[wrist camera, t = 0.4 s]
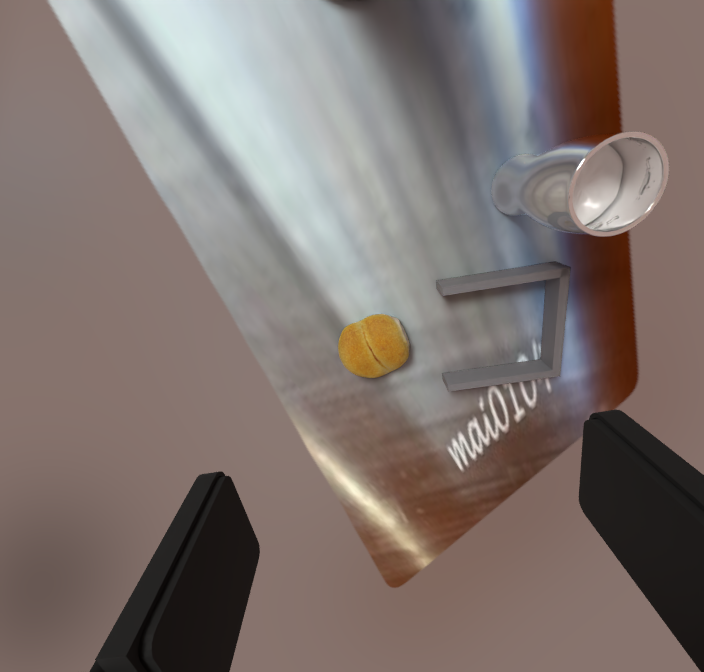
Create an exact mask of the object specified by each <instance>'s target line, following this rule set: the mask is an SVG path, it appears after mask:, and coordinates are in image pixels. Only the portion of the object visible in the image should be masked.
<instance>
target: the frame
mask: <svg viewBox="0 0 704 672" xmlns="http://www.w3.org/2000/svg"><path fill="white" fill-rule="evenodd" d="M570 268H571V267H569V266H566V265H563V264H561V263H558V262H549V263H543V264H537V265H531V266H524V267H518V268H512V269H506V270H499V271H493V272H487V273H480V274H474V275H468V276H462V277H455V278H449V279H443V280H437V281H436V285H437V289H438V291H439V292H440V293H441V294H442V296H446V295H452V294H458V293H465V292H471V291H478V290H484V289H490V288H497V287H503V286H509V285H516V284H522V283H529V282H535V281H541V280H546V283H545V298H544V313H543V328H542V342H541V357H540V359H539V360H532V361H525V362H518V363H511V364H503V365H496V366H489V367H482V368H475V369H468V370H461V371H454V372H447V373H442V376H443V381H444V383H445V385H446V388H447V390H448V392H449V391H457V390H464V389H471V388H478V387H486V386H493V385H500V384H507V383H515V382H522V381H529V380H536V379H544V378H551V377H558V376H560V371H561V361H562V351H563V340H564V330H565V319H566V309H567V299H568V288H569V278H570Z"/></svg>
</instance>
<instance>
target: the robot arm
mask: <svg viewBox="0 0 704 672" xmlns="http://www.w3.org/2000/svg"><path fill="white" fill-rule="evenodd" d="M579 502H580V506H581V508H582V510H583V512H584V514H585V515H586V517H587V518H588V519H589V520H590V522H591V523H592V525H593V526H594V527H595V529H596V530H597V532H598V533H599V534H600V536H601V537H602V538H603V540H604V541H605V542H606V544H607V545H608V546H609V548H610V549H611V550H612V552H613V553H614V554H615V556H616V557H617V559H618V560H619V561H620V563H621V564H622V565H623V567H624V568H625V569H626V570H627V572H628V573H629V575H630V576H631V578H632V579H633V580H634V582H635V583H636V584H637V586H638V587H639V588H640V590H641V591H642V592H643V594H644V595H645V597H646V598H647V599H648V601H649V602H650V603H651V605H652V606H653V607H654V609H655V610H656V611H657V613H658V614H659V615H660V617H661V618H662V620H663V621H664V622H665V624H666V625H667V626H668V628H669V629H670V630H671V632H672V633H673V634H674V636H675V637H676V638H677V640H678V641H679V643H680V644H681V645H682V647H683V648H684V649H685V651H686V652H687V653H688V655H689V656H690V657H691V658H692V660H693V661H694V663H695V664H696V666H697V667H698V668H699V670H700V671H701V672H704V475H703V474H701V473H700V472H699V471H698V470H696V469H695V468H694V467H692V466H691V465H690V464H689V463H687V462H686V461H685V460H684V459H682V458H681V457H680V456H679V455H677V454H676V453H675V452H673V451H672V450H671V449H669V448H668V447H667V446H666V445H665V444H663V443H662V442H661V441H659V440H658V439H657V438H656V437H654V436H653V435H652V434H650V433H649V432H648V431H647V430H645V429H644V428H643V427H641V426H640V425H639V424H638V423H636V422H635V421H634V420H633V419H631V418H630V417H629V416H627V415H626V414H625V413H624V412H622V411H620V410H611V411H604V412H598V413H593V414H591V416H590V418H589V420H587V421H585V422H584V429H583V445H582V458H581V473H580V487H579ZM259 553H260V550H259V543H258V540H257V538H256V535H255V533H254V531H253V528H252V526H251V524H250V521H249V519H248V517H247V514H246V512H245V509H244V507H243V505H242V502H241V500H240V498H239V495H238V493H237V491H236V488H235V486H234V483H233V482H232V479H231V477H229V476H225V474H224V473H223V472H214V473H208V474H202V475H199V476H198V477H197V479H196V480H195V482H194V484H193V486H192V487H191V489H190V491H189V493H188V495H187V496H186V498H185V500H184V502H183V503H182V505H181V507H180V509H179V511H178V513H177V514H176V516H175V518H174V520H173V521H172V523H171V525H170V527H169V529H168V530H167V532H166V534H165V536H164V537H163V539H162V541H161V543H160V545H159V547H158V548H157V550H156V552H155V554H154V555H153V557H152V559H151V561H150V563H149V564H148V566H147V568H146V570H145V572H144V573H143V575H142V577H141V579H140V581H139V582H138V584H137V586H136V588H135V589H134V591H133V593H132V595H131V597H130V598H129V600H128V602H127V604H126V605H125V607H124V609H123V611H122V613H121V614H120V616H119V618H118V620H117V622H116V623H115V625H114V627H113V629H112V631H111V632H110V634H109V636H108V638H107V640H106V641H105V643H104V645H103V647H102V648H101V650H100V652H99V654H98V656H97V658H96V659H95V660H96V661H95V663H94V665H93V667H92V668H91V670H90V672H229V671H230V667H231V663H232V660H233V656H234V652H235V648H236V644H237V640H238V636H239V633H240V629H241V625H242V621H243V617H244V613H245V610H246V606H247V602H248V598H249V594H250V590H251V586H252V583H253V579H254V575H255V571H256V567H257V564H258V559H259Z"/></svg>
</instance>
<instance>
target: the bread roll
mask: <svg viewBox="0 0 704 672" xmlns="http://www.w3.org/2000/svg"><path fill="white" fill-rule="evenodd" d="M409 345H410V343H409V340H408V338H407V335H406V332H405V330H404V328H403V326H402V325H401V323H400V321H399V320H398V319H397V318H395V317H391V316H388V315H384V314H376V315H371V316H369V317H367V318H365V319H363V320H361V321H359V322H356V323H352V324H350V325H348V326H347V327H345V328H344V330H343V331H342V333H341V336H340V339H339V345H338V349H339V356H340V359H341V361H342V363H343V364H344V366H345V367H346V368H347V369H348V370H349V371H350V372H352V373H353V374H355V375H358V376H361V377H367V378H376V377H380V376H383V375H385V374H387V373H389V372H391V371H393V370H395V369H398V368H399V367H401V366H402V365H403V364H404V363H405V362H406V360H407V359H408V356H409V347H410V346H409Z"/></svg>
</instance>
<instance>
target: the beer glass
mask: <svg viewBox="0 0 704 672" xmlns="http://www.w3.org/2000/svg"><path fill="white" fill-rule="evenodd" d="M668 176H669V161H668V156H667V153H666V151H665V149H664V147H663V145H662V144H661V143H660V142H659V141H658V140H657V139H656V138H655V137H653V136H651V135H649V134H647V133H643V132H635V131H630V132H623V133H610V134H598V135H591V136H585V137H581V138H577V139H573V140H570V141H567V142H564V143H562V144H560V145H557V146H555V147H553V148H551V149H549V150H547V151H545V152H544V153H542V154H540V155H538V156H537V155H533V154H520V155H517V156H514V157H512V158H510V159H509V160H507V161H506V162H505V163H504V164H502V166H501V167H500V168H499V169H498V171H497V172H496V174H495V176H494V178H493V181H492V186H491V195H492V200H493V202H494V204H495V206H496V207H497V208H498V209H499V210H500V211H501V212H502V213H504V214H507V215H511V216H519V215H524V214H526V215H527V216H529V217H530V218H532V219H533V220H535V221H536V222H538V223H540V224H542V225H544V226H546V227H548V228H551V229H554V230H558V231H561V232H567V233H573V234H583V235H593V236H600V237H606V236H613V235H617V234H620V233H623V232H625V231H627V230H629V229H631V228H633V227H634V226H636V225H638V224H639V223H640V222H641V221H643V220H644V219H645V218H646V217H647V216H648V215H649V214H650V213H651V212H652V210H653V209H654V208H655V207H656V205H657V204H658V202H659V201H660V199H661V197H662V195H663V193H664V191H665V188H666V185H667V181H668Z"/></svg>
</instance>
